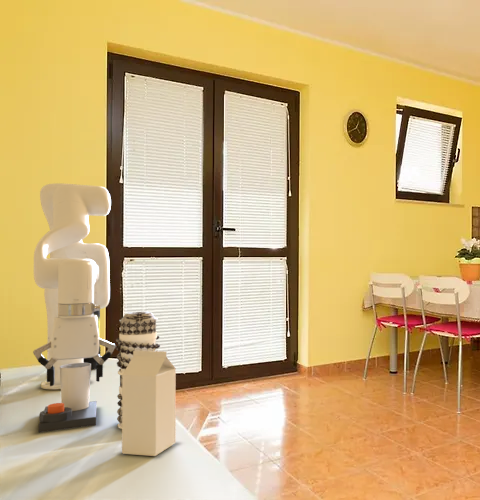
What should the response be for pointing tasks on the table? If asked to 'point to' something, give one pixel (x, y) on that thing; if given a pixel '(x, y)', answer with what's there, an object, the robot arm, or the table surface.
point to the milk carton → (148, 404)
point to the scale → (68, 418)
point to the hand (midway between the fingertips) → (75, 382)
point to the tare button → (55, 408)
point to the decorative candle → (134, 343)
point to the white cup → (75, 385)
